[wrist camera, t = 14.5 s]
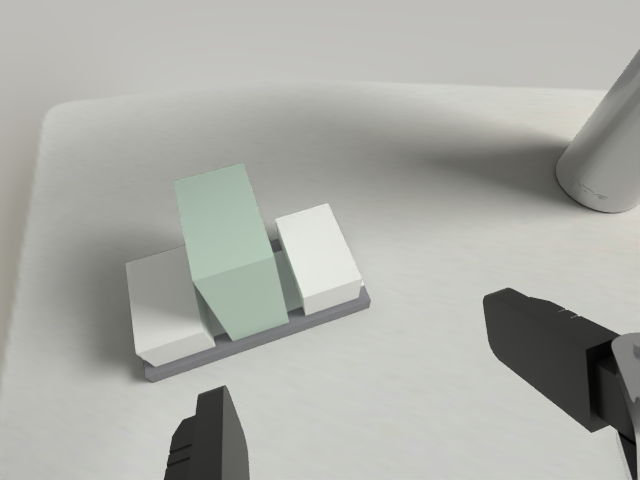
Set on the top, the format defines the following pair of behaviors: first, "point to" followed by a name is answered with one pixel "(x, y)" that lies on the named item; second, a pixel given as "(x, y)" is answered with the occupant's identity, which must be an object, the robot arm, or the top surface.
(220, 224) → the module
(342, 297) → the board
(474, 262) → the top surface
